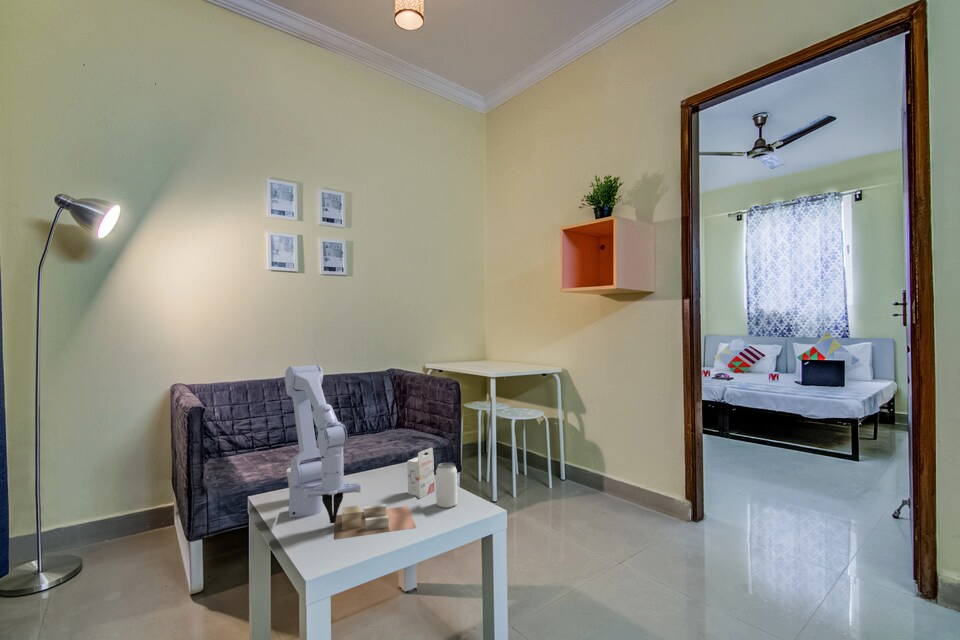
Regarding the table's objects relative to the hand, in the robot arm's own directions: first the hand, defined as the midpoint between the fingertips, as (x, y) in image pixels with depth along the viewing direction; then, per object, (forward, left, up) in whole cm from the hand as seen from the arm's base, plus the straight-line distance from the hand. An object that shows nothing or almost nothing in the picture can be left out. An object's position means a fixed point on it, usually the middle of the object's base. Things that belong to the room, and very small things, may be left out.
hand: (332, 521), depth 120 cm
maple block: (+5, 0, -1) cm, 5 cm away
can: (+33, +8, -3) cm, 34 cm away
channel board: (+11, 0, -2) cm, 11 cm away
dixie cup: (-11, +28, -3) cm, 30 cm away
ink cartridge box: (+27, +20, -3) cm, 34 cm away
